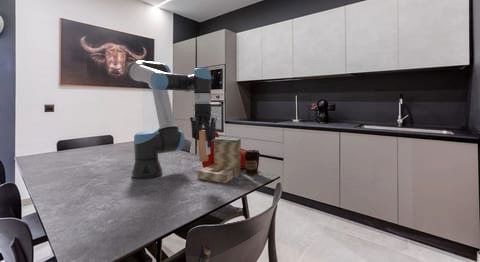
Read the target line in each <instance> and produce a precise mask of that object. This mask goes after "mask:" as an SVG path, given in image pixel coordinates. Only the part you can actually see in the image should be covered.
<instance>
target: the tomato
mask: <svg viewBox="0 0 480 262" xmlns="http://www.w3.org/2000/svg"><path fill="white" fill-rule="evenodd" d="M246 151H247V150H245V149H242V150H241V169H246V167H245V153H246Z"/></svg>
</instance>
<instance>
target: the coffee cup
mask: <svg viewBox="0 0 480 262" xmlns="http://www.w3.org/2000/svg"><path fill="white" fill-rule="evenodd" d="M260 156H261V152H260V151H259V150H257V149H249V150H246V153H245V167H246V168H245V175H247V176H258V175H259V173H258V172H259V171H258V170H259V165H260Z"/></svg>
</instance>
